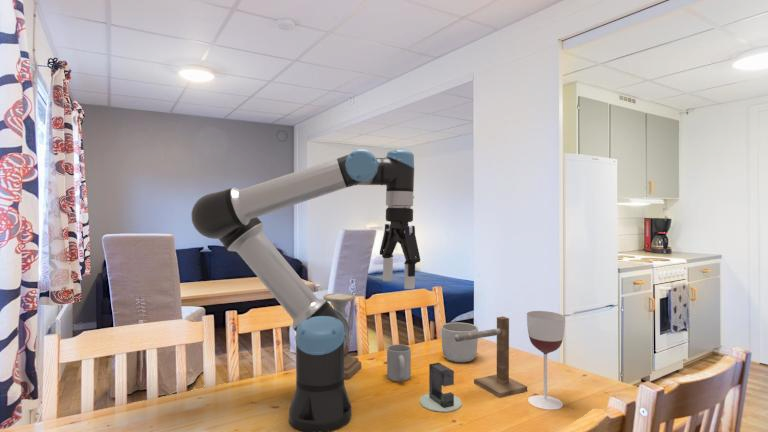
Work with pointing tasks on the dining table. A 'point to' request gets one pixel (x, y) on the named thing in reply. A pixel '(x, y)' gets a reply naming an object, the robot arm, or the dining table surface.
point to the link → (440, 384)
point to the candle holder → (350, 362)
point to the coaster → (434, 406)
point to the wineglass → (545, 347)
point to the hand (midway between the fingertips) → (397, 284)
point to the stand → (500, 381)
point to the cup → (399, 362)
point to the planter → (460, 349)
